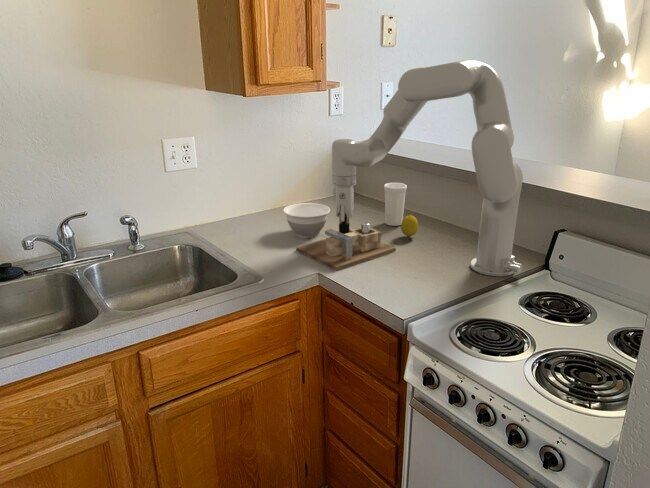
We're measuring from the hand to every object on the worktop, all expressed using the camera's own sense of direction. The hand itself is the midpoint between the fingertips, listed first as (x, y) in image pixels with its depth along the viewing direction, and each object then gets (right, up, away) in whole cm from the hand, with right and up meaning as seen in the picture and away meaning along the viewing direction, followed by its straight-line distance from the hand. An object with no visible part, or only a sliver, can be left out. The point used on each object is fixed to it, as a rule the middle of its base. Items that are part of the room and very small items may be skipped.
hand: (344, 234), depth 174 cm
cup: (+19, +4, +19) cm, 27 cm away
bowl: (-12, +1, +10) cm, 16 cm away
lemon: (+22, -1, +6) cm, 23 cm away
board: (0, -5, -5) cm, 7 cm away
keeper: (-2, -6, -11) cm, 13 cm away
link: (+2, -5, -7) cm, 9 cm away
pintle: (+7, -3, -3) cm, 8 cm away
